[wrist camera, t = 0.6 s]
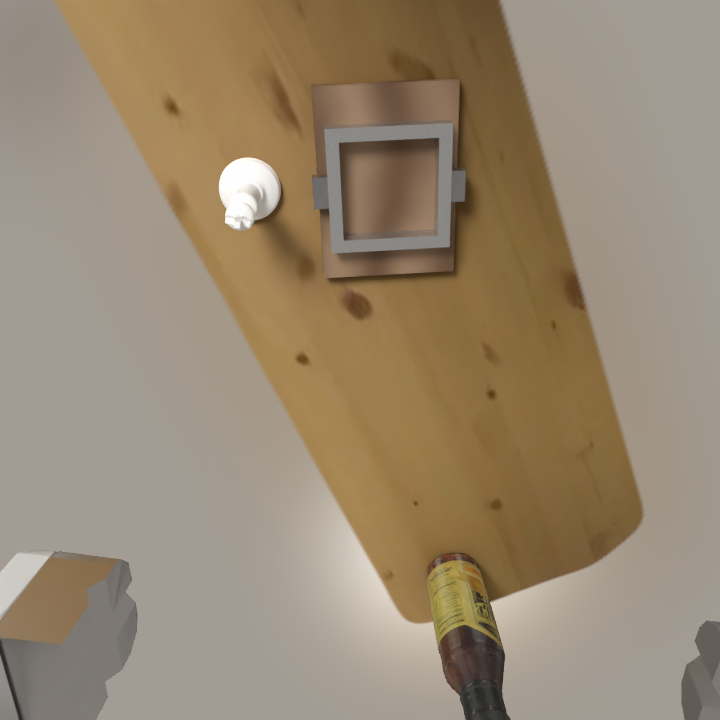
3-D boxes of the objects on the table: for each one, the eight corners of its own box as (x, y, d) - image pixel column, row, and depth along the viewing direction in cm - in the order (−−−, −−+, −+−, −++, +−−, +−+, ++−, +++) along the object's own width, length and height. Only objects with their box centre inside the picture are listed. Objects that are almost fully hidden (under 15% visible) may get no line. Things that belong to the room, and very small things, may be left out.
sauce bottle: (484, 580, 75) (535, 754, 57) (432, 595, 75) (467, 771, 58) (471, 540, 72) (521, 711, 54) (416, 556, 72) (449, 729, 55)
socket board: (324, 273, 56) (324, 278, 55) (311, 84, 49) (311, 86, 48) (451, 266, 56) (453, 270, 55) (456, 78, 49) (459, 79, 48)
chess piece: (275, 224, 54) (268, 266, 45) (215, 212, 53) (195, 252, 44) (285, 164, 52) (279, 196, 43) (222, 151, 51) (203, 181, 42)
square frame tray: (317, 247, 54) (317, 254, 52) (308, 126, 49) (308, 129, 48) (459, 239, 54) (463, 246, 52) (463, 118, 50) (468, 122, 48)
